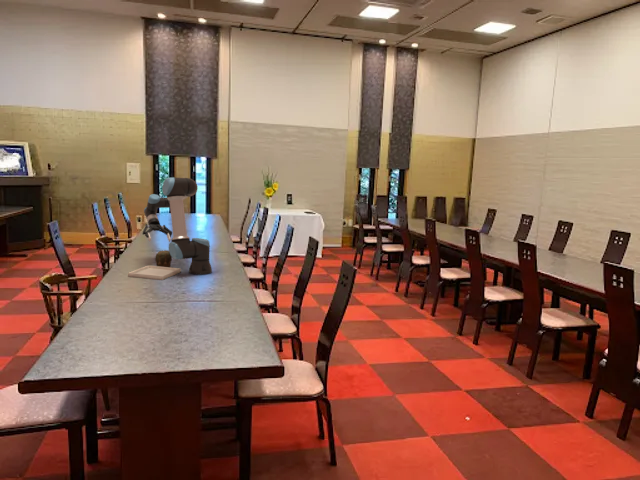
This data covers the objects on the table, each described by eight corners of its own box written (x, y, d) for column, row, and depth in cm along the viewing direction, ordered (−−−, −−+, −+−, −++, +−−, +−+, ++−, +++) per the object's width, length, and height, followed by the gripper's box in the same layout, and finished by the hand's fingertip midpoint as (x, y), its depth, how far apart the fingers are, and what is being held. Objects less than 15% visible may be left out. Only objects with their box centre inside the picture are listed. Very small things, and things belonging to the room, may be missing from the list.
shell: (174, 266, 336) (174, 249, 334) (167, 269, 325) (167, 252, 323) (159, 265, 337) (159, 248, 335) (152, 268, 326) (152, 251, 324)
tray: (180, 272, 320) (180, 268, 320) (162, 280, 297) (162, 276, 296) (148, 268, 324) (148, 265, 324) (127, 276, 301) (127, 272, 301)
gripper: (169, 226, 349) (176, 244, 336) (134, 225, 335) (140, 244, 321) (171, 218, 346) (179, 236, 332) (136, 216, 331) (142, 235, 317)
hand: (160, 240), depth 327 cm, fingers open, 13 cm apart
